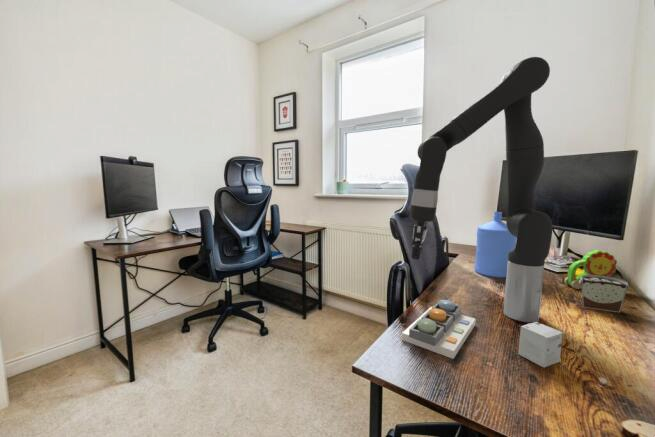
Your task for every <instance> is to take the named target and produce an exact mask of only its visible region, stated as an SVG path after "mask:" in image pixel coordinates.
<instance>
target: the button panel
mask: <svg viewBox="0 0 655 437" xmlns="http://www.w3.org/2000/svg"><path fill="white" fill-rule="evenodd" d="M430 309H439V301H437V303H435V304H434V305H433V306H429V308H428V309H426V311H425V312H424V313H422V314H421V315H420V316H419V317H418V318H417V319H416V320H415V321H414V322H413V323H411V324H410V325H409V326H408V327H407V328H406V329H405V330H404V331H403V332H402V334H401V335H402V336H401V340H402V341H404V342H407V343H410V344H412V345H414V346H417V347H421V348H422V349H426V350H428V351H431V352H433V353H436V354H439V355H442V356H444V357H447V358H449V359H452V360H454V359H455V357H456V356H457V354H458V352H459V351H460V350H461V348H462V347H463V345H464V343H465V342H466V340H467V338H468V337H469V335H470V334H471V332H472V331H473V329H474V328H475V326H476V318H475V317H471V316H467V315H464V314H462V306H460V305H456V304H455V311H454V312H448V311H445V312H446V321H445V322H443V323H441V322H438V321H434V320H432V321H434V322H435V323H436V333H435V334H432V335H430V334H427V333H424V332H421V331H418V321H419V320H420V319H429V311H430ZM443 311H444V310H443ZM429 320H431V319H429Z"/></svg>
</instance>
